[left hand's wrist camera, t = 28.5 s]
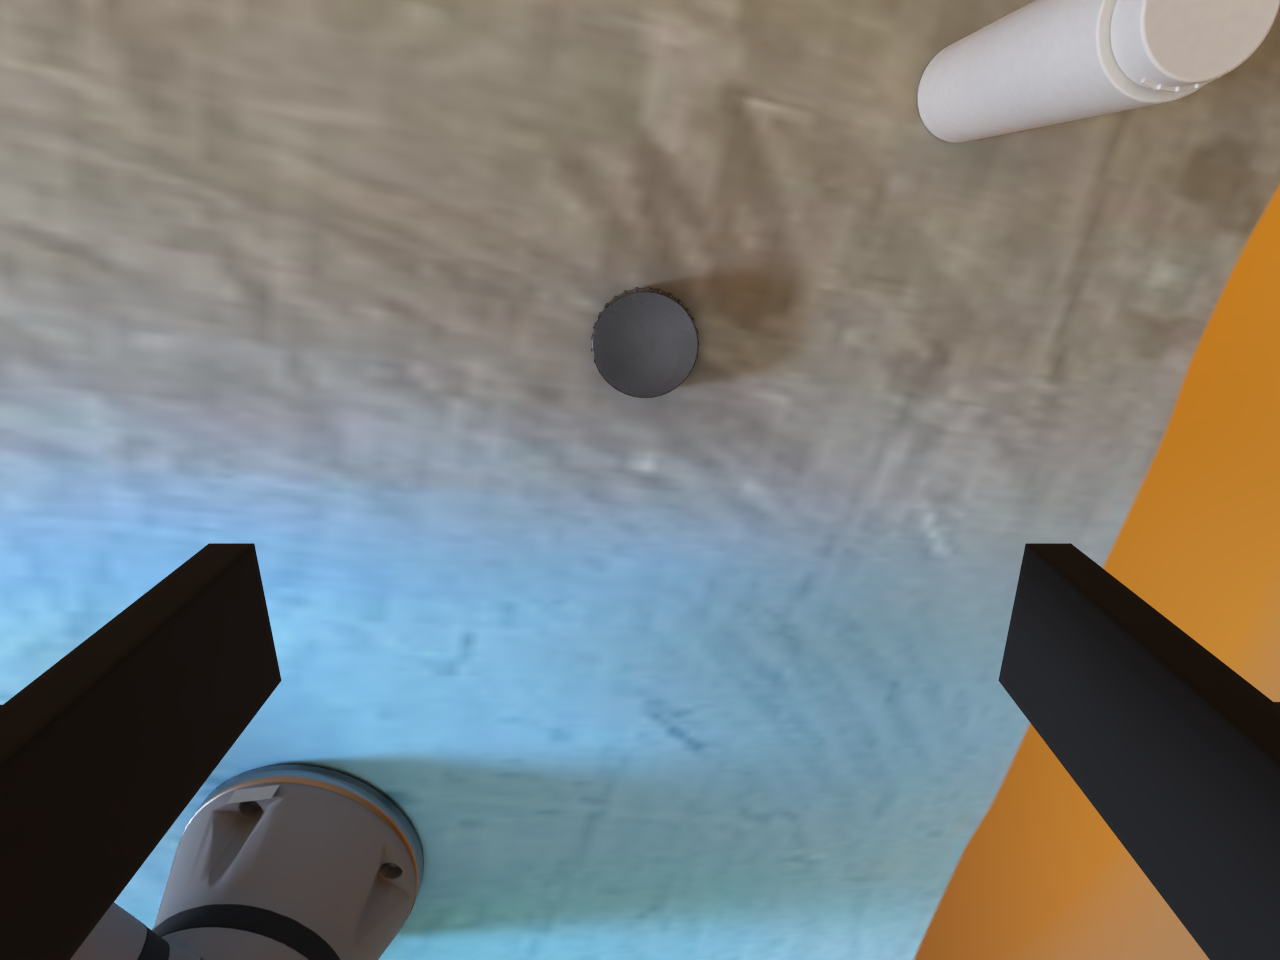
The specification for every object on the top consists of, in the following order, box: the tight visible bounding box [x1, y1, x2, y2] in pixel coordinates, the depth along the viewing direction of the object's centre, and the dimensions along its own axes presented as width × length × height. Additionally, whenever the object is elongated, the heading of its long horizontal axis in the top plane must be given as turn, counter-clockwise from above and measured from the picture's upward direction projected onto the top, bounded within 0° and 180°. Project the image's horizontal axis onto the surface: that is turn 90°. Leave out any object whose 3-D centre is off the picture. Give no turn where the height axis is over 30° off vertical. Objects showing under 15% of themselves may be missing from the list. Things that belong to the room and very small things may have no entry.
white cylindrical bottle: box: [918, 0, 1280, 143], centre depth 27 cm, size 4×4×16 cm
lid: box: [591, 287, 699, 398], centre depth 37 cm, size 5×5×2 cm
